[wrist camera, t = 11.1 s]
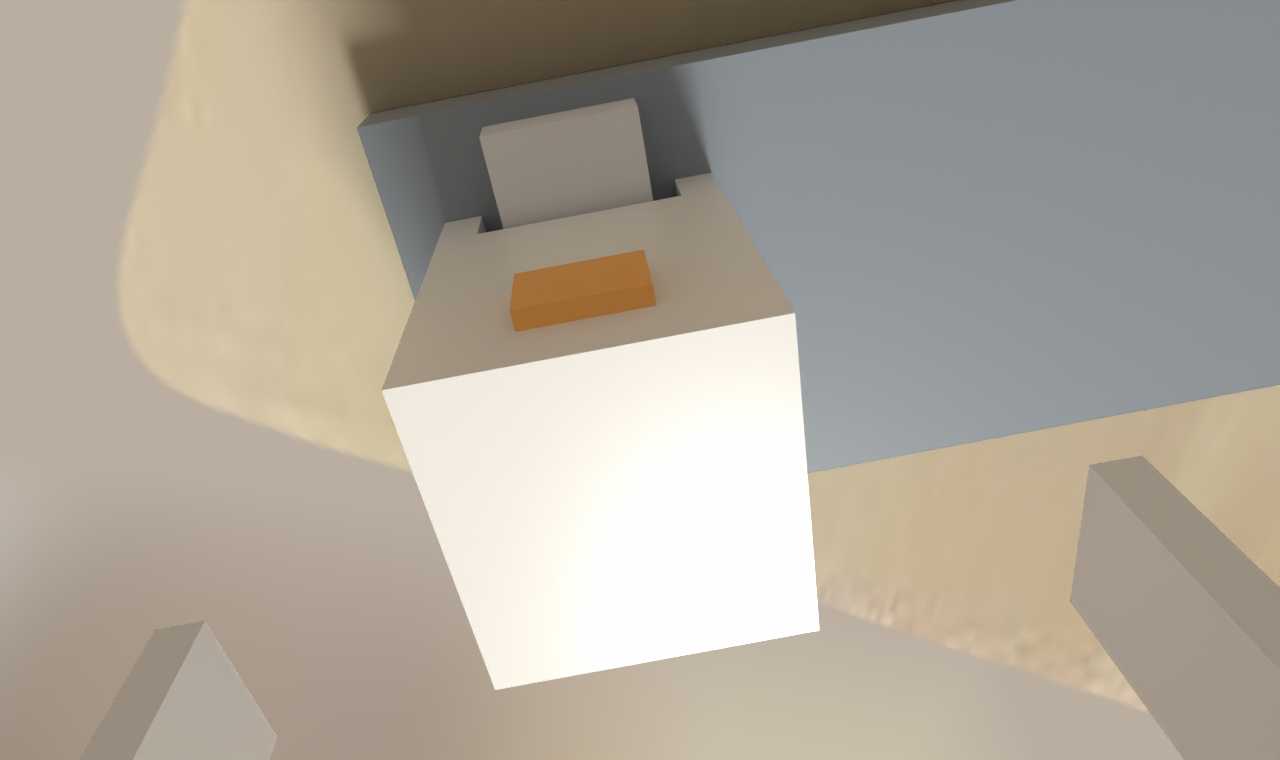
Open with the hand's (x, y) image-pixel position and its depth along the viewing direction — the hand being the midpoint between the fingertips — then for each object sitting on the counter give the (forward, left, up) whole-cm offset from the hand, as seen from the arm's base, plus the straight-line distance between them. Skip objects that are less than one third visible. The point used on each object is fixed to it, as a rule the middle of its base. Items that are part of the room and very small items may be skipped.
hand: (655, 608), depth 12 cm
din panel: (0, +7, -12) cm, 14 cm away
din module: (0, 0, -10) cm, 10 cm away
